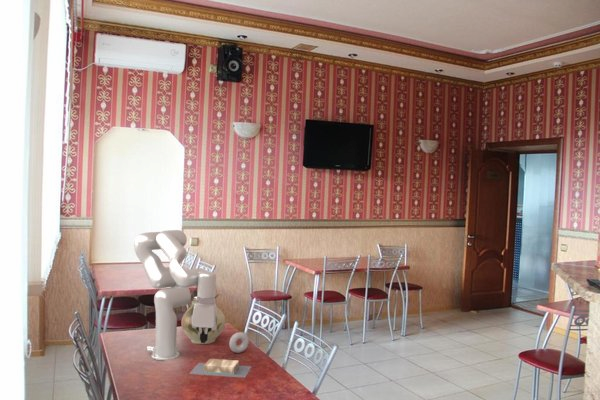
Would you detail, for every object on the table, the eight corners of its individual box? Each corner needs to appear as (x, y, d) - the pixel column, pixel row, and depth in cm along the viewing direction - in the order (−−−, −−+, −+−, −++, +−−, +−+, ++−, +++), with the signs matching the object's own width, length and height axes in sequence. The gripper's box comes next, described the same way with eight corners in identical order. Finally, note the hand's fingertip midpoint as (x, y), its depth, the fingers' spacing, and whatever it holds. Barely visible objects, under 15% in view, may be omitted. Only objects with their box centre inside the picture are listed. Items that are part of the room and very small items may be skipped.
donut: (230, 355, 244) (231, 334, 244) (227, 353, 247) (228, 332, 247) (249, 352, 249) (250, 331, 249) (246, 350, 252) (247, 330, 252)
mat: (188, 374, 217) (189, 373, 217) (198, 363, 231) (198, 362, 231) (245, 378, 214) (245, 377, 214) (251, 367, 228) (251, 366, 228)
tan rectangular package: (204, 365, 218) (234, 367, 217) (209, 358, 227) (238, 360, 226) (203, 372, 219) (233, 374, 217) (209, 365, 227) (238, 367, 226)
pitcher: (213, 349, 252) (214, 298, 252) (170, 344, 259) (171, 294, 259) (231, 337, 274) (233, 290, 274) (191, 333, 280) (193, 287, 280)
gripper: (186, 300, 220) (184, 343, 220) (220, 303, 218) (218, 346, 219) (191, 297, 227) (189, 338, 228) (224, 299, 226) (222, 341, 226)
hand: (203, 342), depth 223 cm, fingers closed
